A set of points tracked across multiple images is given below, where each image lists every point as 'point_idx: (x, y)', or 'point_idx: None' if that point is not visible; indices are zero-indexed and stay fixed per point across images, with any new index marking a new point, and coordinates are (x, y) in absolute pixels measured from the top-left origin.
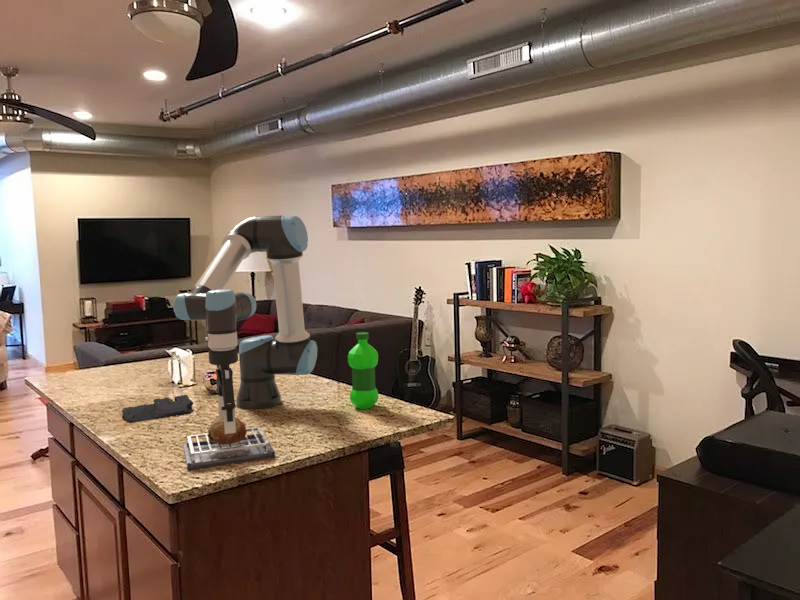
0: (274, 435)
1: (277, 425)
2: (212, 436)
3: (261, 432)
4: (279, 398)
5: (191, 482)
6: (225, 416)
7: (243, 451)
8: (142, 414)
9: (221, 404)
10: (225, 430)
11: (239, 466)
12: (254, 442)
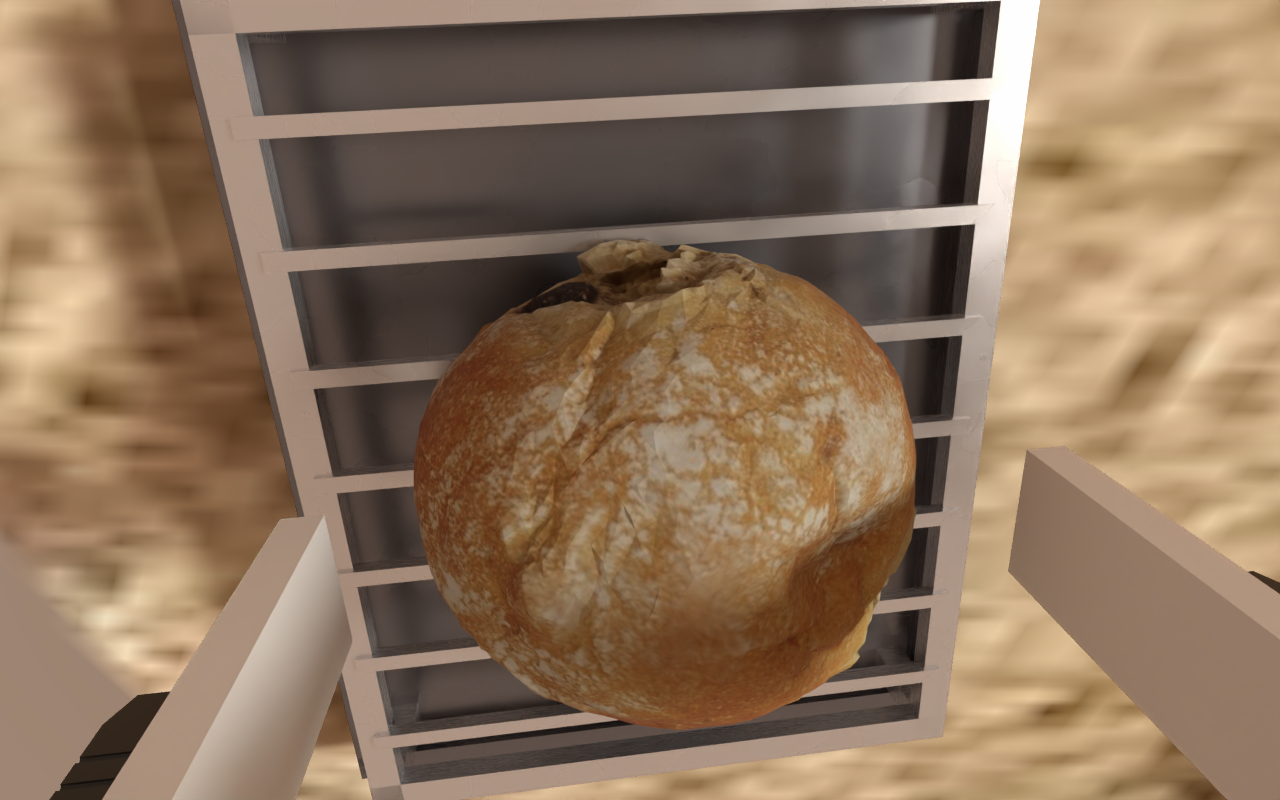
0: (945, 741)
1: (1179, 762)
2: (529, 317)
3: (752, 750)
4: None
5: None
6: (165, 738)
7: None
8: None
9: (1195, 628)
10: (261, 555)
11: (212, 480)
12: None
